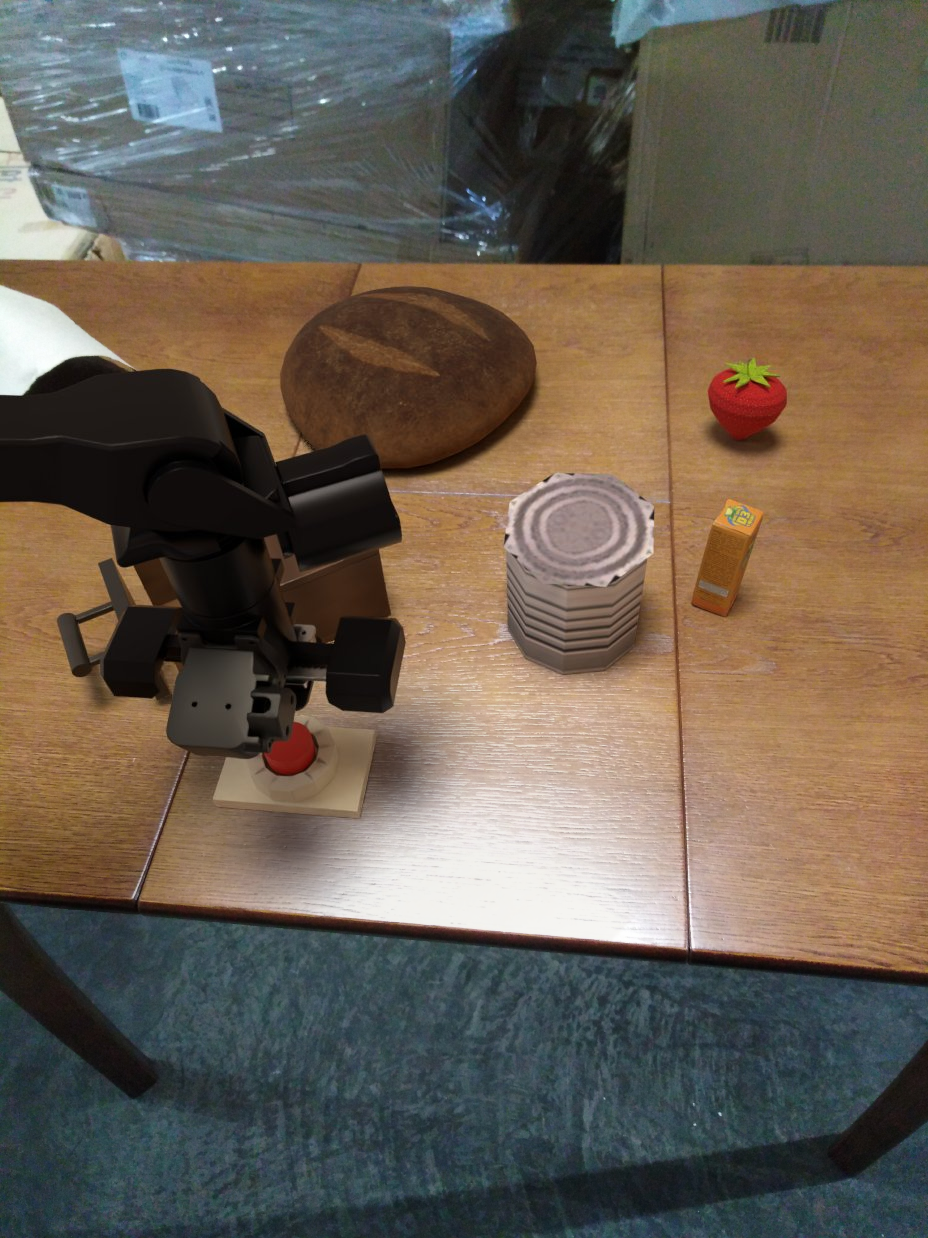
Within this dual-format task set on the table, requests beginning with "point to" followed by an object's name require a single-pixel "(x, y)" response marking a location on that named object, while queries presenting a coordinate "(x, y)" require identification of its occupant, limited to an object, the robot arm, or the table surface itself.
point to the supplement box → (726, 557)
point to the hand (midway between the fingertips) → (282, 726)
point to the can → (576, 570)
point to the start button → (292, 752)
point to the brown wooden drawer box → (333, 590)
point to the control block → (304, 776)
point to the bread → (406, 373)
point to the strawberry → (746, 398)
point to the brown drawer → (121, 598)
